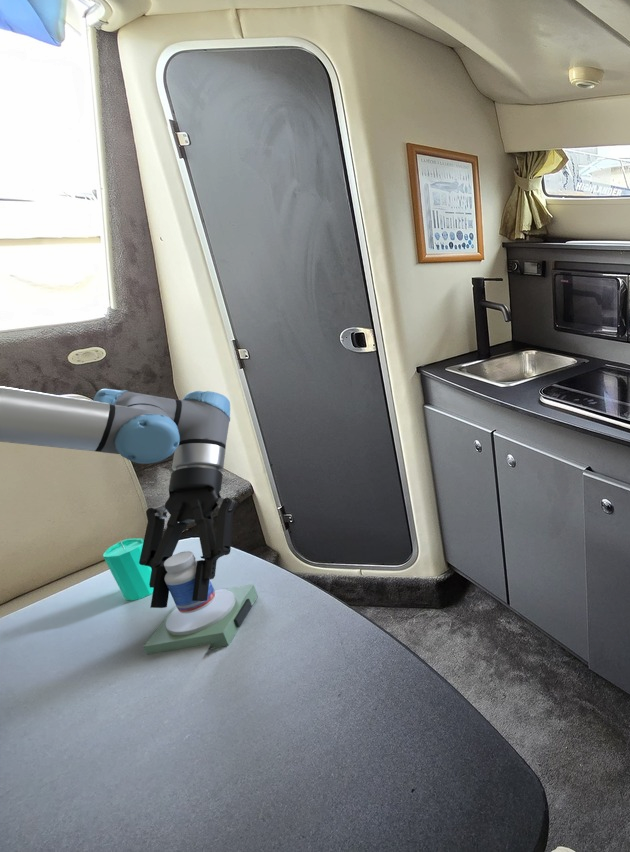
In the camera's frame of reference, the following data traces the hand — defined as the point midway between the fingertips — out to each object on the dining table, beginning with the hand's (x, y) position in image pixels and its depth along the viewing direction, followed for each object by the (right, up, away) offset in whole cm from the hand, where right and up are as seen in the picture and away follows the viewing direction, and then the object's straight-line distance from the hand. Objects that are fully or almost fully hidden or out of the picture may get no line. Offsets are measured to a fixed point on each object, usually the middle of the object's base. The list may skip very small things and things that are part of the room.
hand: (179, 603), depth 83 cm
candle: (-21, -4, +16) cm, 27 cm away
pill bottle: (-1, -2, +5) cm, 5 cm away
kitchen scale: (0, -7, +7) cm, 9 cm away
